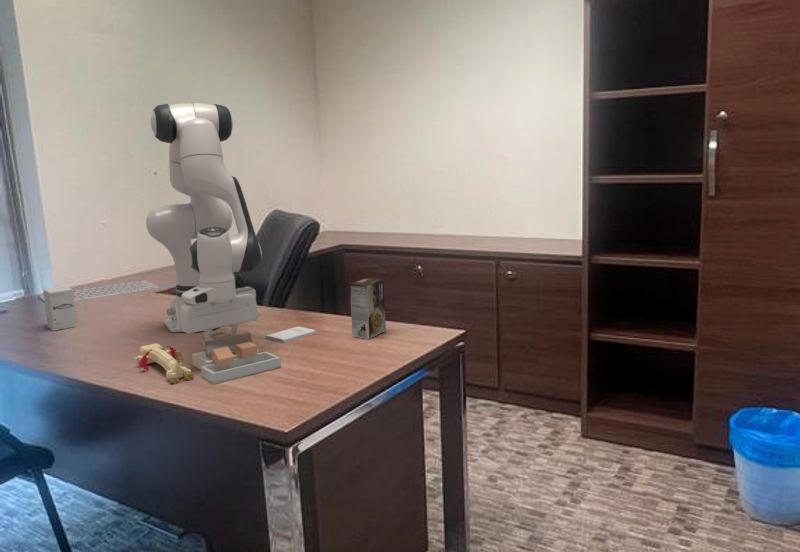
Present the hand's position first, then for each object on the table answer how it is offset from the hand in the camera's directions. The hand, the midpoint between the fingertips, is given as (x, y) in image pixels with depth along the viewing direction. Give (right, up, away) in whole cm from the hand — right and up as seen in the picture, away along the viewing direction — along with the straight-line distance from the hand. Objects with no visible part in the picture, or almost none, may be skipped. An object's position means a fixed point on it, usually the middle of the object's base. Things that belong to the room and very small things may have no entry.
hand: (222, 343), depth 179 cm
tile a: (+2, -4, -7) cm, 8 cm away
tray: (+7, -7, -7) cm, 12 cm away
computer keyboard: (-75, +10, +98) cm, 124 cm away
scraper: (-2, -2, +3) cm, 3 cm away
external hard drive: (+14, -1, +24) cm, 28 cm away
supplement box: (-64, +1, +44) cm, 77 cm away
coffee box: (+37, 0, +23) cm, 44 cm away
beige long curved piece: (-14, -7, -3) cm, 16 cm away
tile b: (+7, -3, -3) cm, 8 cm away
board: (+1, -5, 0) cm, 5 cm away
